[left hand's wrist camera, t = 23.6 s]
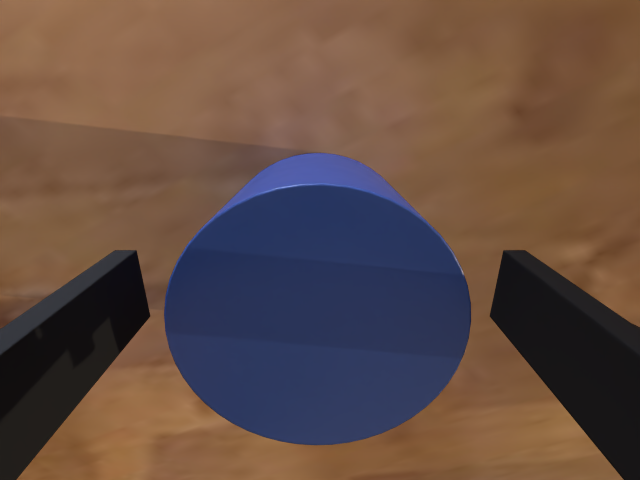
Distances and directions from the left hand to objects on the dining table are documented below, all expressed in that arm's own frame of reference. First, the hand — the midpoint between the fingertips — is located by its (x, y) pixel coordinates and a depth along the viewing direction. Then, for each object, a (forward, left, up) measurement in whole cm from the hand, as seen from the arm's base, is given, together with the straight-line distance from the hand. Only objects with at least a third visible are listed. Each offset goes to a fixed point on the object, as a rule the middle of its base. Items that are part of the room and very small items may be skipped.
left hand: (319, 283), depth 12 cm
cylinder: (0, 0, -4) cm, 4 cm away
